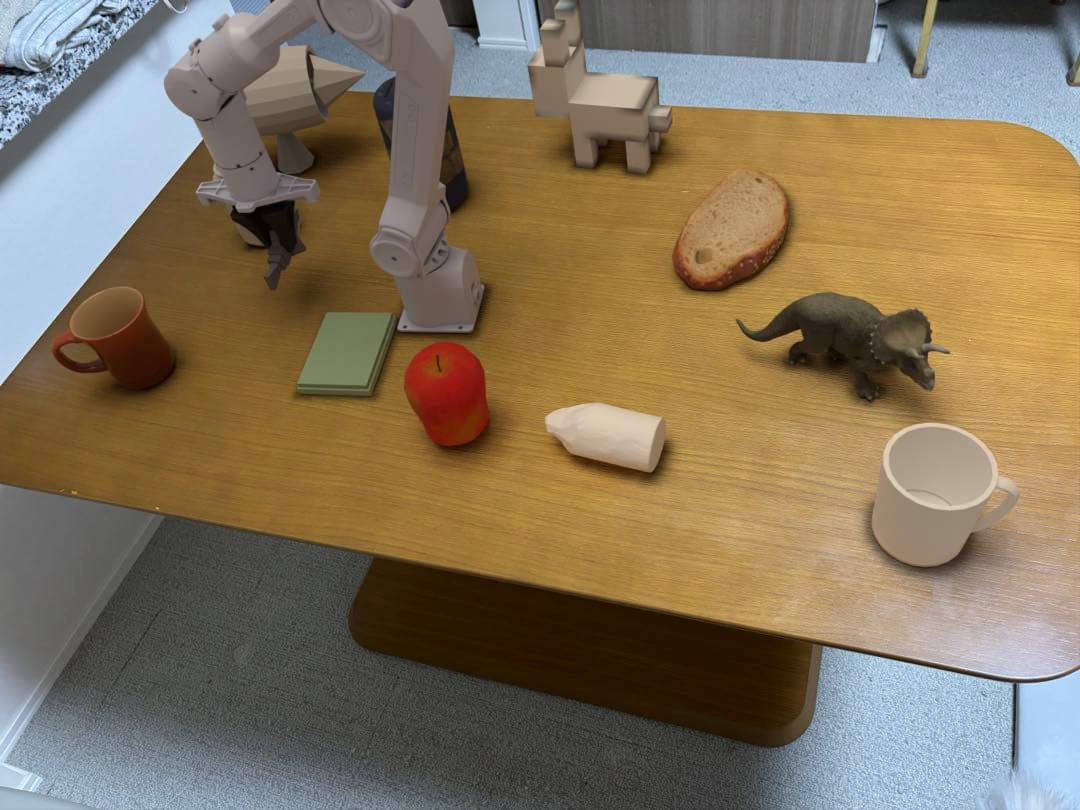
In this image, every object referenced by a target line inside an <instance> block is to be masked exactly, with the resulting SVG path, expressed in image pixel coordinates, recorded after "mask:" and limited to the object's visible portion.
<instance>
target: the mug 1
mask: <svg viewBox="0 0 1080 810" xmlns="http://www.w3.org/2000/svg"><path fill="white" fill-rule="evenodd" d="M69 319H70V320H69V324H68V326H69V330H67V331H65V332H63V333H61V334H59V335H58V336H56V337H55V338H54V339H53V340H52V341H51V344H50V350H51V351H50V352H51V354H52V356H53V357H54V359H55V360H56V361H57V363H59V364H60V365H61V366H62V367H63V368H66V369H67V370H69V371H72V372H74V373H77V374H78V373H79V374H98V373H100V374H101V373H104V372H109V374H110V375H111V377H112V378H113V379H115V380H116V382H117V383H120V385H122V386H123V387H124V388H127V389H130V390H142V389H143V390H144V389H146V388H150V387H153V386H155V385H157V384H159V383H160V382H161V381H163V380H164V379H165V378H166V377H167V376H168V375H169V374H170V372H171V371H172V369H173V367H174V364H175V356H174V353H173V349H172V347H171V345H170V343H169V341H168V340H167V339H166V338H165V336H164V335H163V333H162V332H161V330H160V329H159V327H157V325H156V324H155V323H154V321H153V319H152V318H151V316H150V314H149V311H148V308H147V302H146V299H145V296H144V294H143V293H142V292H141V291H140V290H139V289H138V288H135V287H133V286H127V285H121V286H113V287H109V288H105V289H103V290H101V291H98V292H96V293H94V294H92V295H91V296H89V297H88V298H86V299H85V300H84V301H83V302H82V303H80V304H79V306H77V308H76V309H74V311H73V313H72V315H71V316H70V318H69ZM70 344H84V345H86V346H87V347H89V348H90V349H91V350H93V351H94V353H95V354H96V355H97V358H95V359H93V360H90V361H86V362H82V361H81V362H80V361H77V360H76V361H75V360H74V359H72V358H70V357H69V356H67V355H66V354H65V353H64V352H63V351H62V350H61V348H62V347H64V346H66V345H70Z"/></svg>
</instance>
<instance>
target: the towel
mask: <svg viewBox="0 0 1080 810" xmlns="http://www.w3.org/2000/svg"><path fill="white" fill-rule="evenodd" d="M397 325H398V319H397V316H396V315H393V312H349V311H348V312H347V311H346V312H344V311H343V312H341V311H339V312H338V311H335V312H334V311H332V312H331V311H330V312H329V311H327V312H326V313H325V315H324V318H323V320H322V323H321V325H320V327H319V330H318V332H317V334H316V337H315V338H314V341H313V344H312V346H311V349H310V350H309V353H308V355H307V358H306V360H305V362H304V365H303V367H302V370H301V372H300V375H299V377H298V379H297V381H296V385H297V386H296V390H297V392H298V394H300V395H322V396H323V395H326V396H331V395H332V396H352V397H353V396H355V397H356V396H357V397H358V396H359V397H372V395H373V393H374V391H375V390H374V389H375V387H376V384H377V381H378V379H379V375H380V372H381V370H382V367H383V364H384V361H385V359H386V356H387V353H388V350H389V347H390V345H391V341H392V339H393V336H394V332H395V331H396V328H397Z"/></svg>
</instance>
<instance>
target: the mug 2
mask: <svg viewBox="0 0 1080 810" xmlns="http://www.w3.org/2000/svg"><path fill="white" fill-rule="evenodd" d="M881 458H882V459H881V464H880V468H879V469H880V471H879V476H878V481H877V487H876V493H875V498H874V504H873V510H872V515H871V529H872V534H873V537H874V538H875V540H876V541H877V543H878V544H879V546H880V548H882V549H883V550H884V551H885V552H886V553H887V554H888V555H889V556H890V557H892V558H894V559H896V560H898V561H899V562H901V563H904V564H907V565H909V566H912V567H919V568H929V567H938V566H941V565H944V564H946V563H949V562H950V561H952V560H953V559H955V558H956V557H957V556H958V555H959V553H960V552H961V550H963V549H964V548H963V547H964V546H965V544H966V542H967V540H968V539H969V537H970V535H971V533H976V532H977V533H978V532H981V531H984V530H985V529H987V528H990V527H992V526H993V525H994V524H996V523H997V522H999V521H1000V520H1002V519H1003V518H1004V517H1006V516H1007V515H1008V513H1009V512H1010V511H1012V509H1014V507H1015V506H1016V504H1017V503H1018V501H1019V500H1020V490H1019V485H1018V484H1017V483H1015V482H1014V481H1013V480H1012V479H1010V478H1008V477H1005V476H1002V475H999V471H998V470H999V467H998V463H997V461H996V460H995V456H994V455H993V453H992V451H991V449H989V448H988V447H987V445H986V444H985V443H984V442H983V441H981V440H980V439H979V438H978V437H976V436H975V435H974V434H972V433H971V432H969V431H966V430H964V429H963V428H961V427H957V426H955V425H951V424H947V423H939V422H923V423H916V424H913V425H910V426H907V427H904V428H902V429H900V431H898V432H896V433H895V434H894V435H892V437H891V438H890V439H889V441H888V442H887V443H886V446H885V449H884V451H883V454H882V457H881ZM995 489H996V490H1001V491H1003V492H1005V493H1006V494H1007V496H1006V498H1005V499H1004V500H1003V501H1002V502H1001V503H1000V504H999V505H998V506H997V507H996V508H995V509H993V510H992V511H991V512H990V513H987V514H986V515H984V516H982V517H981V515H982V513H983V512H984V510H985V507H986V506H987V504H988V502H989V501H990V498H991V497H992V495H993V493H994V491H995Z"/></svg>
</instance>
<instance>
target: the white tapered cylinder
mask: <svg viewBox="0 0 1080 810" xmlns="http://www.w3.org/2000/svg"><path fill="white" fill-rule="evenodd" d="M666 423H667V422H666V419H665V417H663V416H662V417H661V416H656V415H652V414H648V413H644V412H639V411H635V410H631V409H628V408H623V407H619V406H614V405H611V404H607V403H603V402H598V401H597V402H589V403H583V404H582V403H581V404H577V405H572V406H569V407H561V408H559V409H556V410H553V411H552V412H550V413H548V414H547V415H546V416H545V417H544V424H545V428H546V431H547V433H548V434H550V435H552V436H553V437H555V438H557V440H558V441H560V442H561V443H562V445H563V447H564V448H565V449H566V451H568V453H570V454H571V455H574V456H579V457H583V458H586V459H590V460H595V461H599V462H602V463H603V462H604V463H607V464H612V465H615V466H620V467H623V468H629V469H633V470H637V471H642V472H646V473H652V472H653V471H654V470H655V469H656V467H657V465H658V463H659V461H660V458H661V455H662V451H663V449H664V443H665V439H666V433H667V432H666V431H667V430H666V429H667V427H666Z"/></svg>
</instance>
